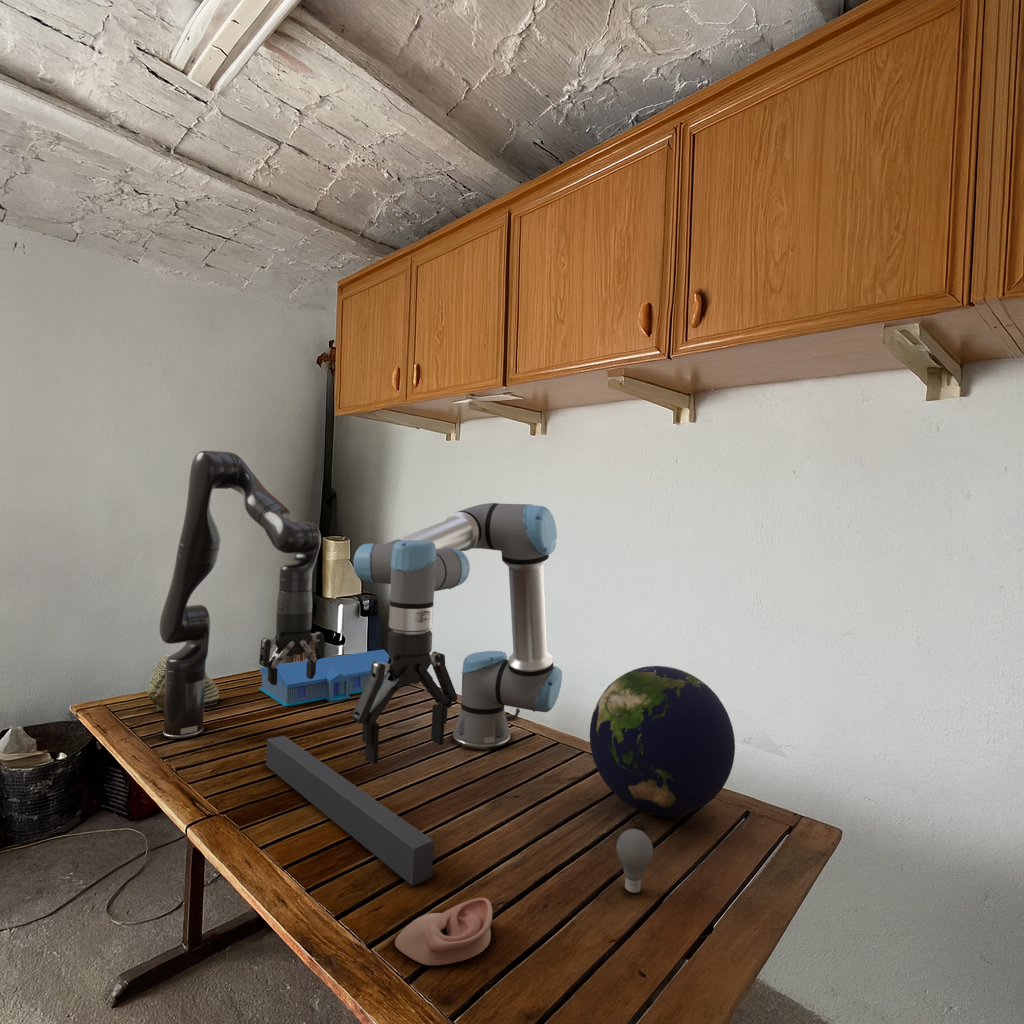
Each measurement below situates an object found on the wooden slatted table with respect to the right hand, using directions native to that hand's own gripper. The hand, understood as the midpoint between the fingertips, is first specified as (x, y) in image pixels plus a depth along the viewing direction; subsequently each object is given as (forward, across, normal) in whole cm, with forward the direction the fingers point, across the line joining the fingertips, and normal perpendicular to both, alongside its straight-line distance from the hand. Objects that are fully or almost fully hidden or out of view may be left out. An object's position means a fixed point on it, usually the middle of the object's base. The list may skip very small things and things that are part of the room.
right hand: (405, 751), depth 110 cm
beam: (+20, 0, +23) cm, 31 cm away
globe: (+20, +53, -17) cm, 59 cm away
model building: (+20, +38, +98) cm, 107 cm away
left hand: (-1, 0, +46) cm, 46 cm away
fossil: (+20, -4, +107) cm, 109 cm away
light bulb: (+20, +25, -31) cm, 45 cm away
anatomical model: (+20, -6, -20) cm, 29 cm away
